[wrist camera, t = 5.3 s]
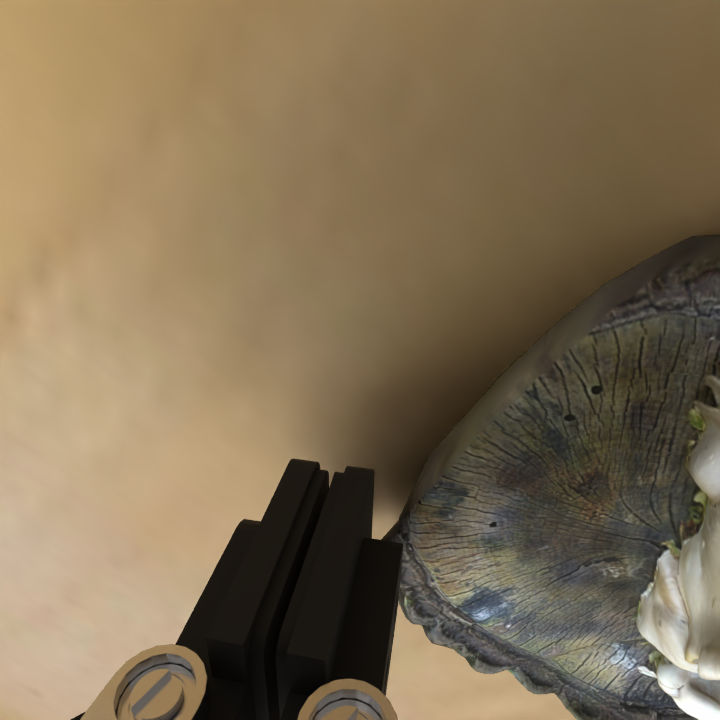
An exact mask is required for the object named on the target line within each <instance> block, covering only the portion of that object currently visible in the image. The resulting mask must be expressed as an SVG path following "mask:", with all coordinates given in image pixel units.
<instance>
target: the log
mask: <svg viewBox="0 0 720 720" xmlns="http://www.w3.org/2000/svg"><path fill="white" fill-rule="evenodd" d="M382 540H384V541H391V542H397V543H404V545H403V559H402V571H401V581H400V590H399V599H398V601H399V604H400V606H401V608H402V611H403V613H404V615H405V617H406V618H407V619H408V620H409V621H410V622H411V623H413V624H417V625H422V627H423V629H424V631H425V634H426V636H427V637H428V639H429V640H430V641H431V642H432V643H433V644H436V645H441V646H445V647H448V648H451V649H454V650H455V651H456V652H457V653H459V654H460V655H461V656H463V657H465V658H466V660H467V661H468V663H469V664H470V666H471V667H472V668H473V669H474V670H475V671H477V672H480V673H484V674H494V673H498V672H501V671H504V670H508V671H509V672H511V673H512V674H513V675H514V676H515V678H516V679H517V680H518V681H519V682H520V683H521V684H522V685H523V686H524V687H525V688H526V689H527V690H528V691H530V692H532V693H533V694H549V693H555V694H556V695H557V697H558V698H559V699H560V700H561V701H562V703H563V704H564V706H565V707H566V709H568V710H569V711H570V712H571V713H572V715H573V716H574V717H575V718H576V719H577V720H720V235H714V236H692V237H690V238H688V239H686V240H684V241H681V242H679V243H677V244H675V245H673V246H671V247H670V248H668V249H666V250H664V251H662V252H660V253H658V254H656V255H654V256H652V257H650V258H649V259H647V260H645V261H643V262H642V263H640V264H638V265H637V266H635V267H633V268H631V269H630V270H628V271H626V272H625V273H623V274H621V275H620V276H618V277H616V278H614V279H613V280H611V281H609V282H608V283H606V284H604V285H603V286H601V287H600V288H599V289H598V290H596V291H595V292H594V293H593V294H592V295H590V296H589V297H588V298H587V299H585V300H584V301H583V302H582V303H580V304H579V305H578V306H577V307H576V308H574V309H573V310H572V311H571V312H569V313H568V314H567V315H566V316H564V317H563V318H562V319H561V320H560V321H559V322H557V323H556V324H555V325H554V326H553V327H552V328H551V329H549V330H548V331H547V332H546V333H545V334H544V335H543V336H542V337H541V338H540V339H539V340H538V341H536V342H535V343H534V344H533V345H532V346H531V347H530V348H529V349H528V350H527V351H526V352H525V353H524V354H523V355H522V356H520V357H519V358H518V359H517V360H516V361H515V362H514V363H513V364H512V365H511V366H510V367H509V368H508V369H507V370H506V371H504V372H503V374H502V375H501V376H500V377H499V378H498V379H497V380H496V381H495V382H494V384H493V385H492V386H491V387H490V388H489V389H488V390H487V391H486V393H485V394H484V395H483V396H482V397H481V398H480V399H479V400H478V401H477V403H476V404H475V405H474V406H473V407H472V408H471V409H470V410H469V411H468V413H467V414H466V415H465V416H464V417H463V418H462V419H461V420H460V421H459V423H458V424H457V425H456V426H455V427H454V428H453V429H452V430H451V431H450V433H449V434H448V435H447V436H446V437H445V438H444V439H443V440H442V442H441V443H440V444H439V445H438V446H437V447H436V448H435V450H434V451H433V452H432V454H431V455H430V456H429V457H428V459H427V461H426V463H425V465H424V467H423V469H422V471H421V473H420V476H419V478H418V480H417V482H416V484H415V486H414V488H413V490H412V492H411V495H410V497H409V499H408V501H407V503H406V505H405V507H404V509H403V511H402V513H401V515H400V517H399V521H398V522H397V523H396V524H395V525H394V526H393V527H392V528H391V529H390V531H389V532H388V533H387V534H386V535H385V536H384V537H383V538H382Z"/></svg>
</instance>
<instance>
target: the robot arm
mask: <svg viewBox="0 0 720 720" xmlns="http://www.w3.org/2000/svg"><path fill="white" fill-rule="evenodd" d="M373 494H374V470H373V469H366V468H358V467H351V466H347V467H346V469H345V471H344V473H340V472H335V474H334V476H333V479H332V482H331V485H330V488H329V473H328V471H326V470H320V464H319V462H314V461H306V460H299V459H291V460H290V462H289V463H288V466H287V468H286V470H285V472H284V474H283V476H282V478H281V480H280V482H279V485H278V487H277V489H276V491H275V493H274V495H273V497H272V499H271V501H270V504H269V506H268V508H267V510H266V512H265V514H264V516H263V518H262V520H261V522H260V521H253V520H247V519H243V520H242V521H241V522H240V523H239V525H238V526H237V528H236V530H235V531H234V533H233V535H232V537H231V539H230V541H229V543H228V545H227V547H226V549H225V551H224V553H223V554H222V556H221V558H220V560H219V562H218V564H217V566H216V568H215V570H214V572H213V574H212V576H211V577H210V579H209V581H208V583H207V585H206V587H205V589H204V591H203V593H202V595H201V597H200V599H199V600H198V602H197V604H196V606H195V608H194V610H193V612H192V614H191V616H190V618H189V620H188V622H187V623H186V625H185V627H184V629H183V631H182V633H181V635H180V637H179V639H178V641H177V643H176V644H175V645H173V644H169V645H160V646H155V647H153V648H150V649H147V650H145V651H142V652H140V653H139V654H137V655H136V656H134V657H133V658H131V659H130V660H128V661H127V662H126V663H125V664H124V665H123V666H122V667H121V668H120V669H119V670H118V671H117V672H116V673H115V674H114V676H113V677H112V678H111V680H110V681H109V682H108V684H107V685H106V686H105V688H104V689H103V690H102V691H101V693H100V694H99V695H98V697H97V698H96V699H95V701H94V702H93V703H92V705H91V706H90V707H89V708H88V710H87V711H86V712H84V713H82V714H80V715H78V716H77V717H75V718H73V719H71V720H398V718H397V714H396V712H395V711H394V709H393V707H392V705H391V703H390V701H389V700H388V698H387V697H386V689H387V681H388V674H389V667H390V659H391V652H392V645H393V637H394V630H395V622H396V615H397V607H398V599H399V590H400V581H401V571H402V559H403V545H404V543H397V542H391V541H384V540H377V539H371V538H372V516H373Z"/></svg>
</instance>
